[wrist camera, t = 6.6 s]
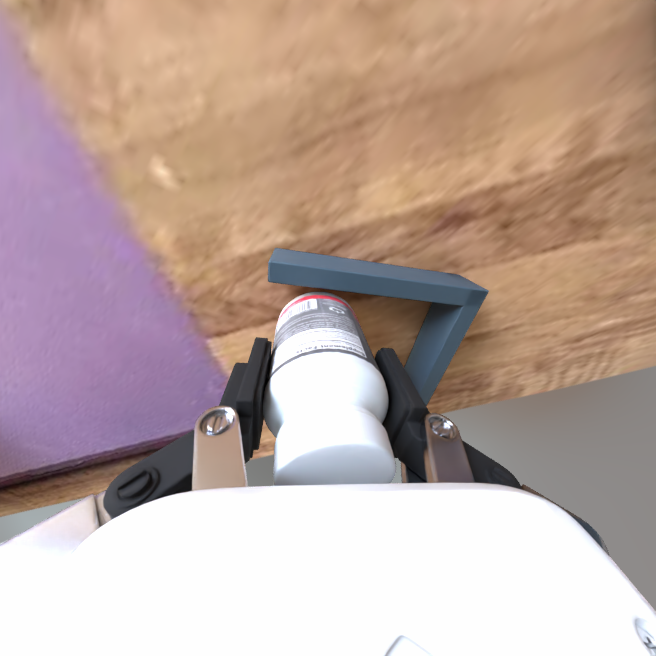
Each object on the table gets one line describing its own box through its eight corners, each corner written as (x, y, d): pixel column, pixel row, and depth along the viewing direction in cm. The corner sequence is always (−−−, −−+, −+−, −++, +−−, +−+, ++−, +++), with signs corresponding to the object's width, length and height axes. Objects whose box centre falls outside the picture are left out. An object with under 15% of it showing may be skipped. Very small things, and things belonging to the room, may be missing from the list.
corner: (268, 382, 20) (263, 412, 18) (274, 247, 15) (268, 260, 12) (406, 390, 23) (420, 417, 20) (459, 274, 17) (489, 291, 14)
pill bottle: (351, 357, 17) (396, 513, 9) (279, 357, 17) (255, 525, 8) (362, 290, 15) (441, 423, 6) (275, 287, 14) (235, 431, 6)
